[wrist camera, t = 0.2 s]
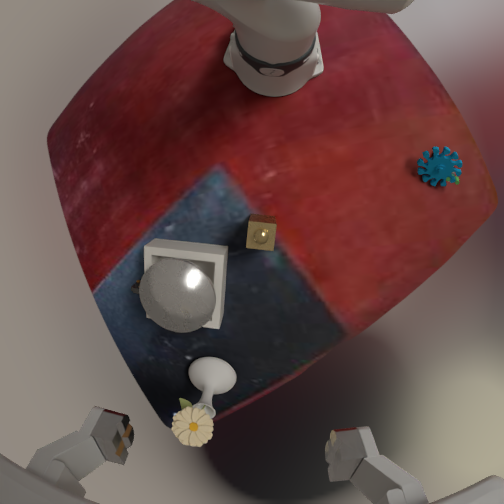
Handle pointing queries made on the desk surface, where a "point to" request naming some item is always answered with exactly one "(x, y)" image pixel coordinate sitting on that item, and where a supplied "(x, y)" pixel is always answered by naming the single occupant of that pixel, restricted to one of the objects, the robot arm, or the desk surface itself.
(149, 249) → the base
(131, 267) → the desk surface
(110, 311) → the desk surface
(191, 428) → the flower in vase
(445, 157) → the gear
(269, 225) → the brass weight
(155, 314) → the scale pan
